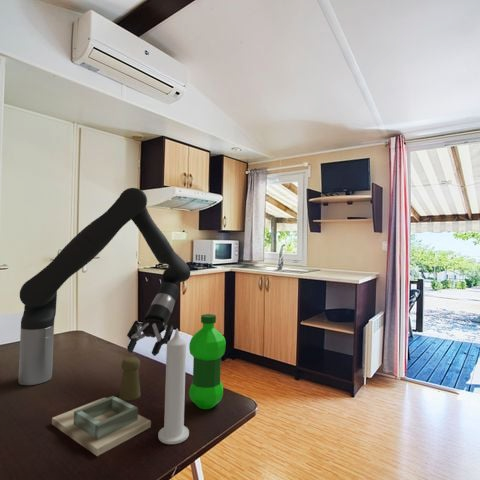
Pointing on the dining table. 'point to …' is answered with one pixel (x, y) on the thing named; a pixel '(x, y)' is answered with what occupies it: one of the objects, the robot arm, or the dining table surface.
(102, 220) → the robot arm
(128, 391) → the cork
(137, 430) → the board
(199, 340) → the plastic bottle
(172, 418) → the candle
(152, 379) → the dining table surface
